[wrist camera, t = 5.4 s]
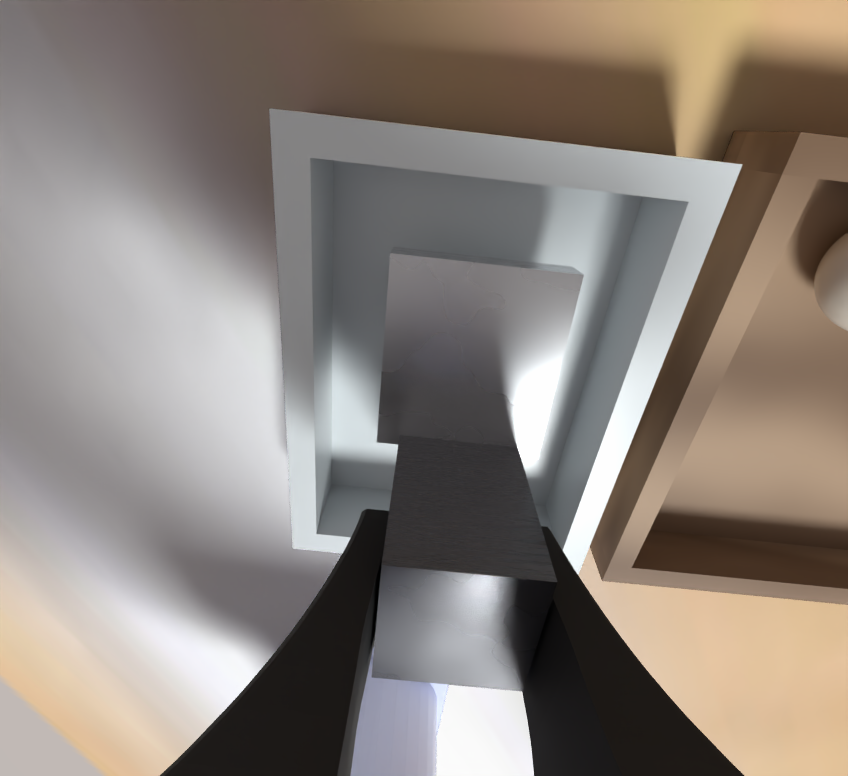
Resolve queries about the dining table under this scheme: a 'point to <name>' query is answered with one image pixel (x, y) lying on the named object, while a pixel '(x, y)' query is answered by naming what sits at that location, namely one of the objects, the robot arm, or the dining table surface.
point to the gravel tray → (748, 400)
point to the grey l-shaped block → (467, 464)
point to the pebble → (834, 283)
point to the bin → (481, 236)
